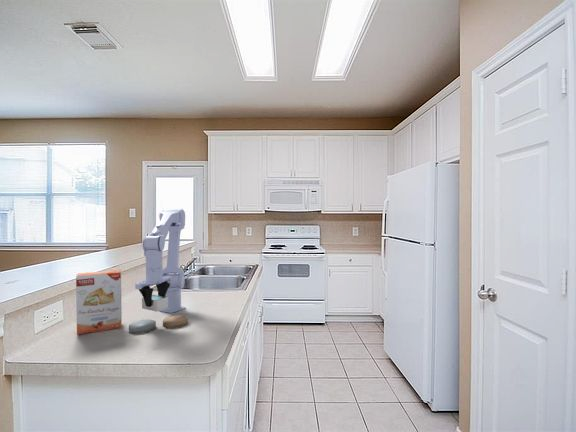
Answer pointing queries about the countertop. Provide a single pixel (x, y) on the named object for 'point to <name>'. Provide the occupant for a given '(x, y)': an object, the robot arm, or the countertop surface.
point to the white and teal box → (156, 304)
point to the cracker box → (98, 301)
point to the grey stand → (142, 326)
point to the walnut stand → (175, 321)
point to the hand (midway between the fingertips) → (155, 304)
